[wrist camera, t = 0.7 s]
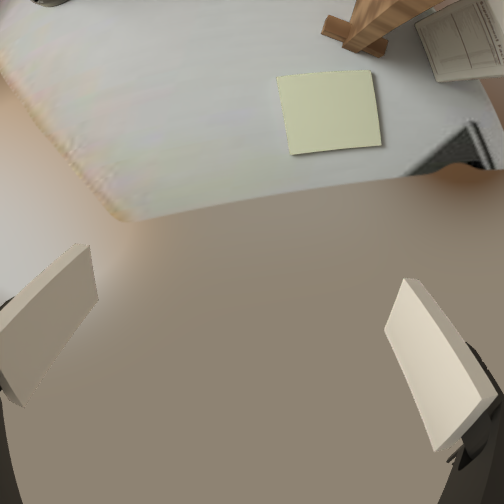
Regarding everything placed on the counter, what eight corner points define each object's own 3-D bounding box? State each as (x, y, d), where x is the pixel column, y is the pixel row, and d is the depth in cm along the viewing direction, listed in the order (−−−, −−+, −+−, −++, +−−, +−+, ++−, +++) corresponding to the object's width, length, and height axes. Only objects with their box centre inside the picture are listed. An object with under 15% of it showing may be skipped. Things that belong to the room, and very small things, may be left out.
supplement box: (478, 78, 29) (557, 78, 13) (435, 84, 30) (517, 78, 15) (458, 21, 25) (529, -1, 10) (412, 22, 27) (482, -13, 11)
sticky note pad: (276, 78, 32) (276, 77, 31) (368, 71, 31) (370, 70, 30) (289, 154, 36) (290, 155, 35) (379, 144, 35) (381, 145, 34)
